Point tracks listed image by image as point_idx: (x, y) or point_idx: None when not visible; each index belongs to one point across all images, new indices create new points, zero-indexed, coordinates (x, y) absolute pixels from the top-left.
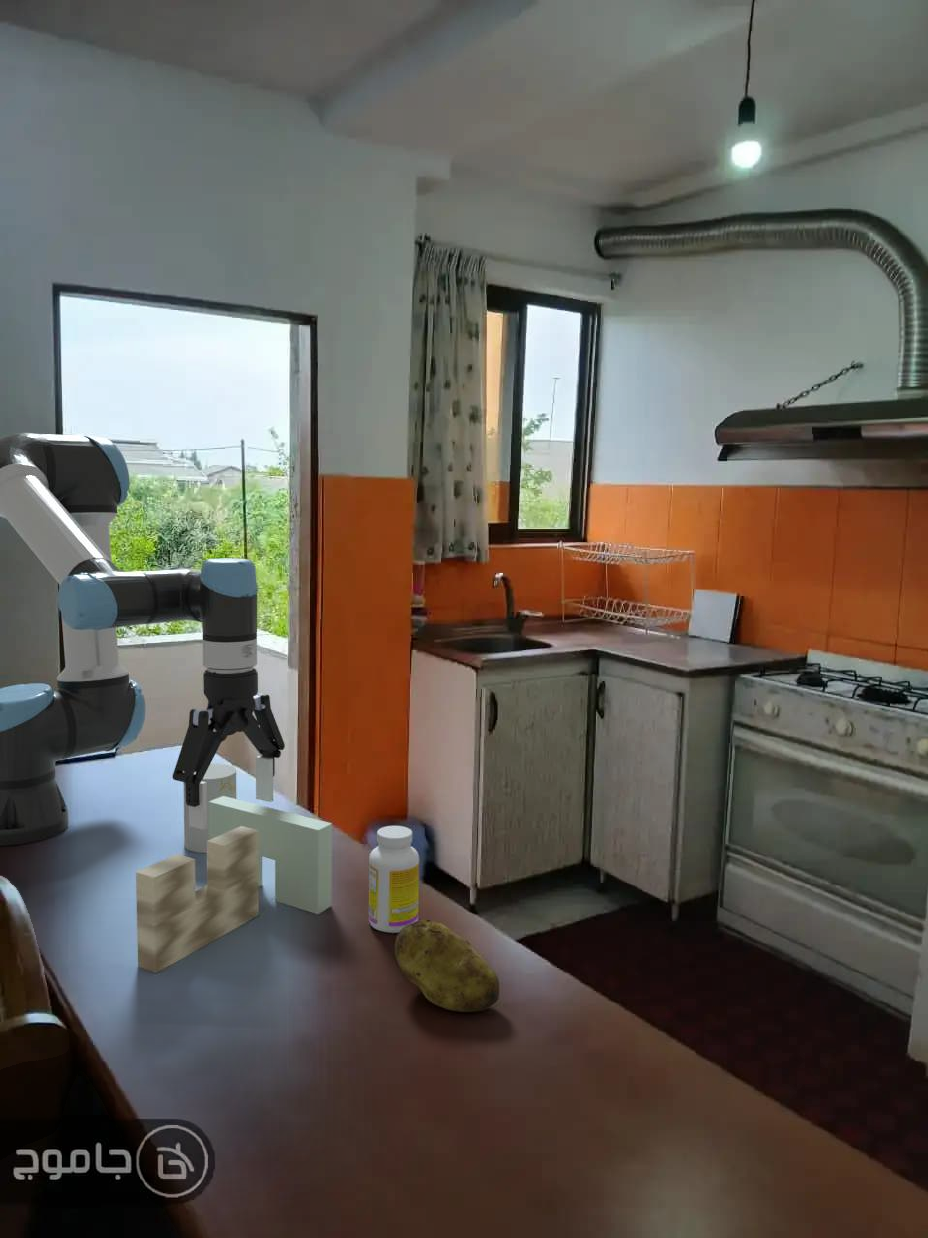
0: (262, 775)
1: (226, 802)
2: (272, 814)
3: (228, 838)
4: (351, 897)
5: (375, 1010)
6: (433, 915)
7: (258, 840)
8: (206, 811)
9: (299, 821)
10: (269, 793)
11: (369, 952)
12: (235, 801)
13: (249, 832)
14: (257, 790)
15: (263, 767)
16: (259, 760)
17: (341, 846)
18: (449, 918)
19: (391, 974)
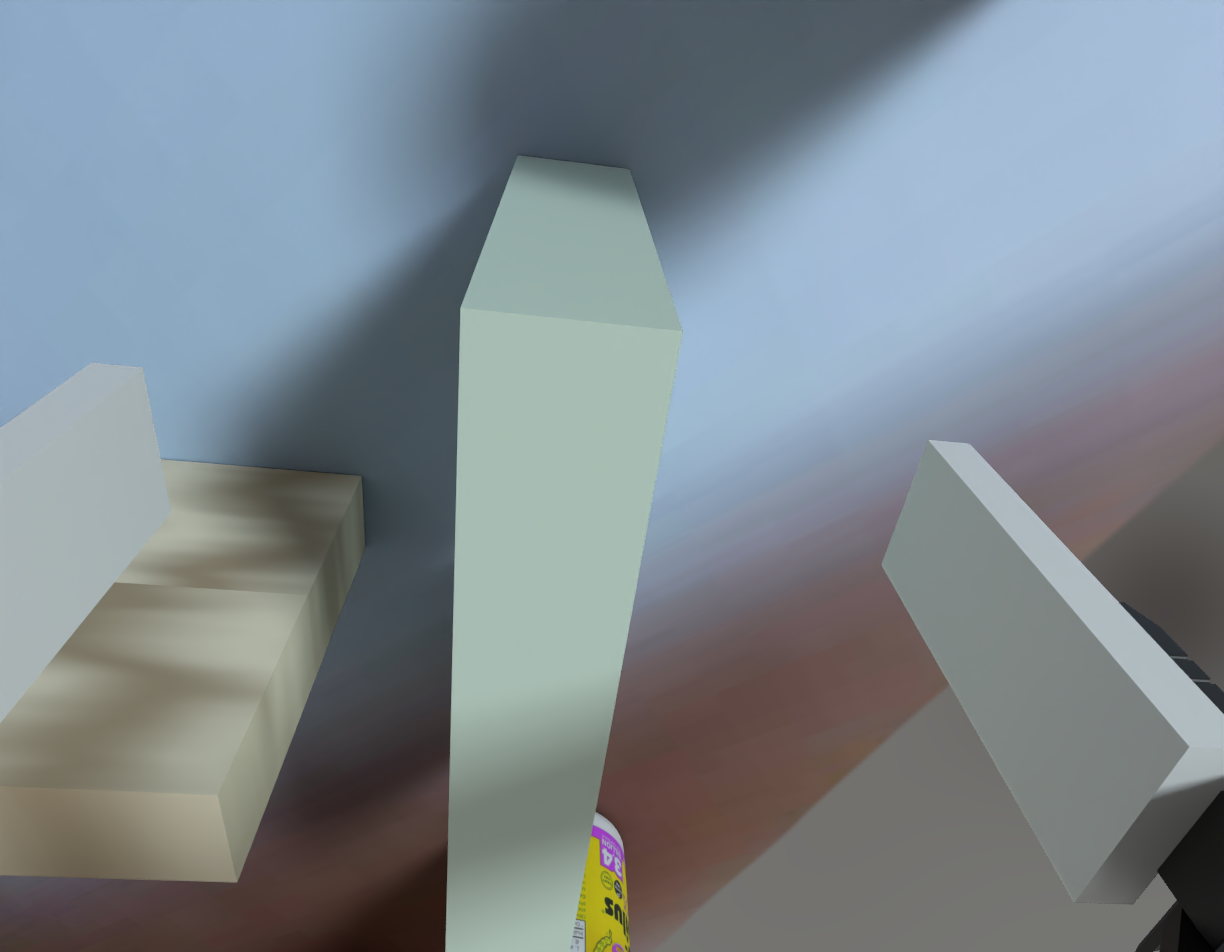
0: (1010, 655)
1: (536, 467)
2: (503, 822)
3: (6, 840)
4: (652, 706)
5: (180, 941)
6: (645, 883)
7: (257, 824)
8: (89, 602)
9: (490, 947)
10: (909, 607)
11: (379, 856)
12: (597, 516)
13: (173, 867)
14: (956, 497)
15: (1052, 741)
16: (1133, 761)
17: (1107, 483)
18: (647, 908)
19: (323, 915)
